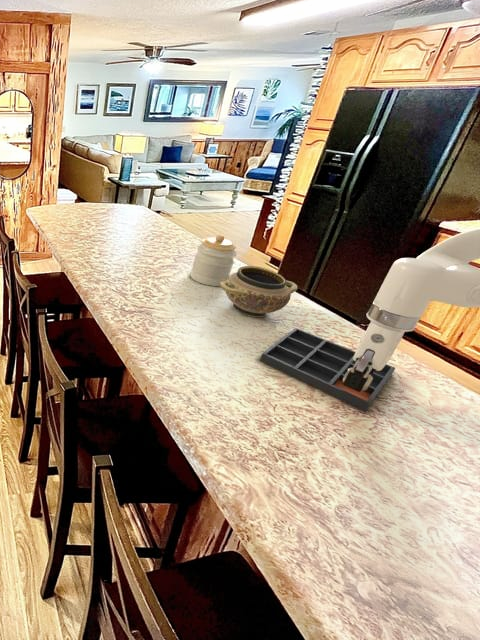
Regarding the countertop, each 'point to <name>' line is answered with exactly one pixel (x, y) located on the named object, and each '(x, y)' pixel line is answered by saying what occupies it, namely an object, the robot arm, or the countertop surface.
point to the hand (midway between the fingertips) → (355, 383)
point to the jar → (213, 261)
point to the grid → (323, 366)
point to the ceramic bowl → (257, 291)
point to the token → (365, 383)
